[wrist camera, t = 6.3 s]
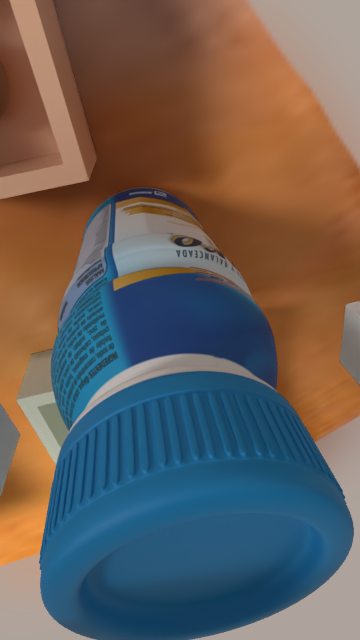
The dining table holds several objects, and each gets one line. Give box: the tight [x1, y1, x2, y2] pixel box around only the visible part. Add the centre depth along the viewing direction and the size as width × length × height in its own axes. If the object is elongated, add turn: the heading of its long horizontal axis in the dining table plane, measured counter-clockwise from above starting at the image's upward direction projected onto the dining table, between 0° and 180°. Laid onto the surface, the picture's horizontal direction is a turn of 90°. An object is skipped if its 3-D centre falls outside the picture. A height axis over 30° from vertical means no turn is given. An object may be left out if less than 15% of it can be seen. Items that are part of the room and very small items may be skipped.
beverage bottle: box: [39, 187, 354, 640], centre depth 15 cm, size 8×8×20 cm
